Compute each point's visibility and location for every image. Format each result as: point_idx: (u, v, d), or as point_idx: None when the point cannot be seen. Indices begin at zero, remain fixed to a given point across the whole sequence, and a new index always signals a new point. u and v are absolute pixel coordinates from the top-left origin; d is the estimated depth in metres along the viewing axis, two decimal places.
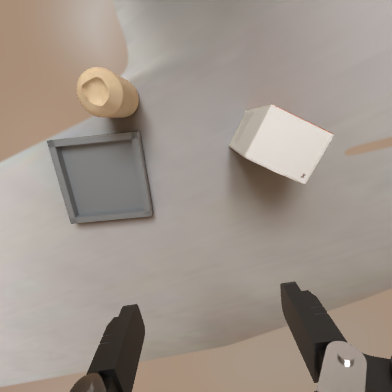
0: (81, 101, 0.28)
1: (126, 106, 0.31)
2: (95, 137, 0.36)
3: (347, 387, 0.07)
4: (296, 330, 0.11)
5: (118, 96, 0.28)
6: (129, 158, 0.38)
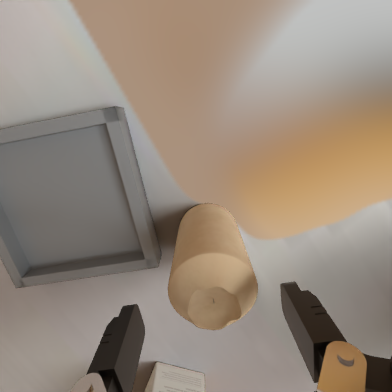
0: (193, 265, 0.13)
1: None
2: (138, 202, 0.20)
3: (347, 387, 0.07)
4: (296, 330, 0.11)
5: None
6: (113, 244, 0.22)
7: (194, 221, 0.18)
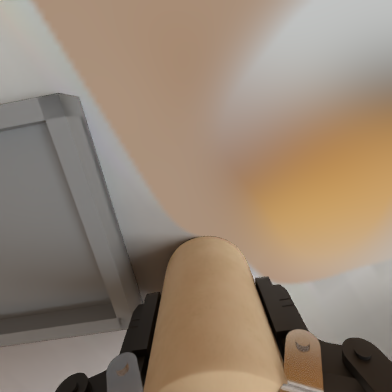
0: None
1: None
2: (103, 239, 0.13)
3: (307, 371, 0.08)
4: None
5: None
6: (73, 292, 0.16)
7: (187, 274, 0.12)
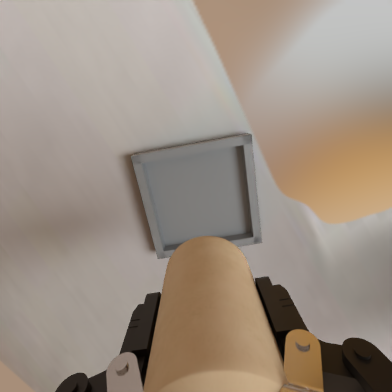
0: None
1: None
2: (255, 197, 0.29)
3: (307, 371, 0.08)
4: None
5: None
6: (227, 227, 0.32)
7: (187, 273, 0.12)
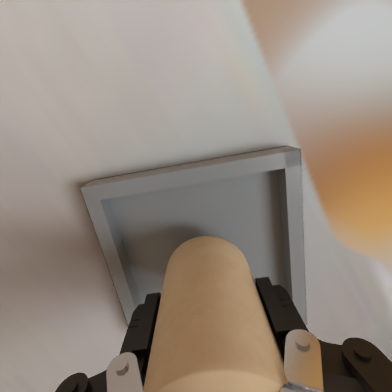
0: None
1: None
2: (301, 255, 0.17)
3: (307, 371, 0.08)
4: None
5: None
6: None
7: (187, 273, 0.12)
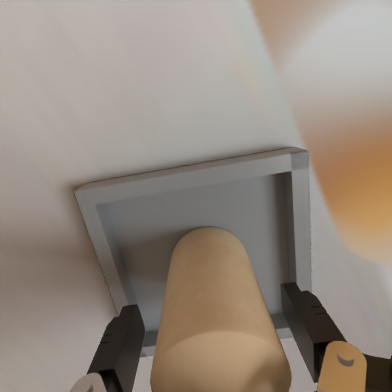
0: (190, 353, 0.08)
1: None
2: (307, 262, 0.16)
3: (346, 387, 0.07)
4: (296, 330, 0.11)
5: None
6: None
7: (190, 258, 0.13)
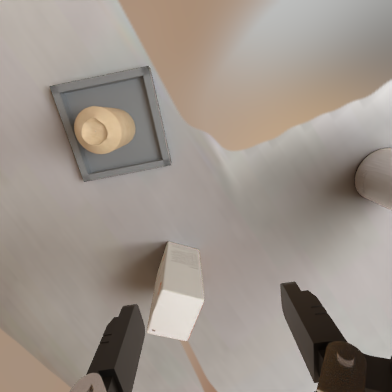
0: (83, 112, 0.27)
1: None
2: (159, 122, 0.35)
3: (347, 387, 0.07)
4: (296, 330, 0.11)
5: (97, 151, 0.28)
6: (143, 154, 0.37)
7: None
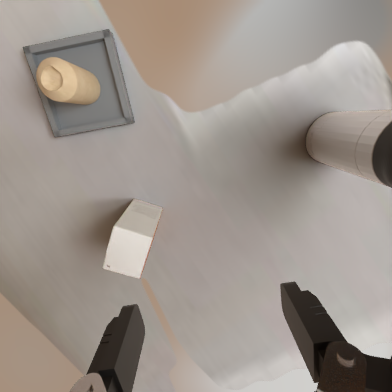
0: (43, 61, 0.31)
1: None
2: (120, 82, 0.39)
3: (346, 387, 0.07)
4: (296, 330, 0.11)
5: (56, 98, 0.32)
6: (108, 113, 0.41)
7: None
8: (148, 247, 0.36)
